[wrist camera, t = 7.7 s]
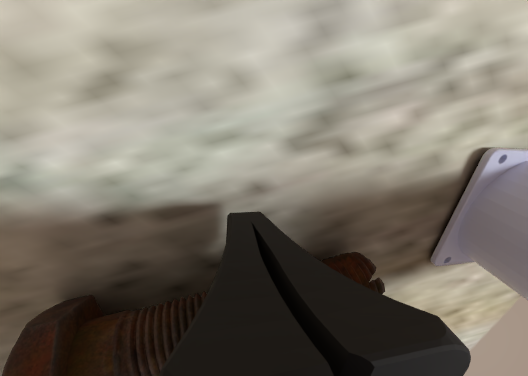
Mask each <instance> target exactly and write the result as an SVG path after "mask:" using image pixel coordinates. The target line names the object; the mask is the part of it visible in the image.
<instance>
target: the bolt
mask: <svg viewBox="0 0 528 376" xmlns="http://www.w3.org/2000/svg"><path fill="white" fill-rule="evenodd" d="M319 261H320V260H319ZM321 262H322V263H324V264H326V265H327V266H329V267H330V268H332V269H333V270H335V271H337V272H339V273H340V274H342V275H344V276H346V277H348V278H349V279H351V280H353V281H355V282H357V283H359V284H361V285H363V286H365V287H367V288H369V289H371V290H373V291H375V292H378V293H380V294H383V293H384V292H385V288H384V283H383V282H382V281H381V279H380V278H377V279H376V280H372V281H371V282H369V281H370V279H371V278H372V275H373V274H374V273H375V271H376V267H375V265H374V264H373V263H372V262H371V261H370V260H369V259H367V258H365V257H364V256H363V255H362V254H360V253H357V252H352V253H345V254H340V255H339V256H335V257H331V258H328V259H323V260H322V261H321ZM206 295H207V293H206V292H205V291H204V292H203V293H202V296H199V295H198V294H197V293H196V294H195V297H194V298H193V297H192V296H191V295H189V296H188V298H187V301H186V300H185V299H184V298H183V297H181V299H180V302H178V300H176V299H174V300H173V302H172V304H171V303H170V302H169V301H167V302H166V303H165V304H164V305H163V304H161V303H159V304H158V305H157V307H156V306H154V305H153V306H150V307H149V308H147V307H145V308H143V309H142V310H139V309H138V310H134V311H130V310H126V311H122V312H118V313H114V314H111V315H107V316H104V314H103V312H102V311H101V309H100V307H99V305H98V304H97V302H96V300H95V298H94V297H93V295H88V296H84V297H80V298H76V299H72V300H68V301H64V302H62V303H60V304H58V305H55V306H53V307H51V308H50V309H48V310H46V311H44V312H42V313H41V314H39V315H38V316H36V317H35V318H34V319H32V320H31V321H30V322H29V323H27V325H26V326H25V328H24V329H23V331H22V333H21V335H20V336H19V338H18V340H17V342H16V344H15V345H14V347H13V349H12V351H11V353H10V355H9V358H8V360H7V362H6V364H5V367H4V370H3V374H2V376H159V374H160V372H161V369H162V367H163V365H164V363H165V362H166V361H167V359H168V358H169V356H170V355H171V353H172V352H173V350H174V349H175V347H176V346H177V344H178V343H179V341H180V340H181V339H182V337H183V336H184V334H185V332H186V331H187V329H188V328H189V326H190V324H191V322H192V321H193V319H194V317H195V316H196V314H197V312H198V310H199V309H200V307H201V305H202V303H203V301H204V299H205V297H206Z"/></svg>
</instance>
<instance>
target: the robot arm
mask: <svg viewBox="0 0 528 376" xmlns="http://www.w3.org/2000/svg"><path fill="white" fill-rule="evenodd" d="M431 262H432V263H433V264H434V265H435V266H443V265H452V264H461V263H470V262H476V263H477V264H479V265H480V266H482V267H483V268H484V269H486V270H487V271H488V272H490V273H491V274H492V275H494V276H495V277H497V278H498V279H499V280H501V281H502V282H503V283H505V284H506V285H508V286H509V287H510V288H512V289H513V290H514V291H516V292H517V293H518V294H520V295H521V296H523V297H524V298H526V299H527V300H528V149H511V148H491V149H489V150H487V151H486V152H485V153H484V155H483V156H482V158H481V160H480V162H479V164H478V166H477V168H476V170H475V172H474V174H473V176H472V178H471V180H470V182H469V184H468V186H467V188H466V190H465V192H464V193H463V195H462V197H461V199H460V201H459V203H458V205H457V207H456V209H455V211H454V213H453V215H452V217H451V219H450V221H449V223H448V225H447V227H446V229H445V231H444V233H443V235H442V237H441V239H440V241H439V243H438V245H437V247H436V249H435V251H434V253H433V255H432V257H431ZM470 360H471V356H470V352H469V349H468V348H467V347H466V346H465V345H464V344H463V343H462V342H461V340H460V339H459V338H458V337H457V336H456V335H455V334H454V333H453V332H452V331H451V330H450V329H449V328H448V327H447V325H446V324H445V323H444V322H443V321H442V320H441V319H440V318H439V317H438V316H436V315H433V314H430V313H428V312H425V311H422V310H420V309H417V308H414V307H412V306H409V305H406V304H403V303H401V302H398V301H396V300H393V299H391V298H389V297H387V296H384V295H382V294H380V293H378V292H375V291H373V290H371V289H369V288H367V287H365V286H363V285H361V284H359V283H357V282H355V281H353V280H351V279H349V278H348V277H346V276H344V275H342V274H340V273H339V272H337V271H335V270H333V269H332V268H330V267H329V266H327V265H326V264H324V263H322V262H321V261H319V260H318V259H316V258H315V257H313V256H312V255H310V254H309V253H308V252H306V251H305V250H304V249H302V248H301V247H300V246H299V245H297V244H296V243H295V242H294V241H292V240H291V239H290V238H289V237H288V236H286V235H285V234H284V233H283V232H282V231H281V230H280V229H278V228H277V227H276V226H275V225H274V224H273V223H272V222H271V221H270V220H269V219H268V218H266V217H265V216H264V215H263V214H262V213H261V212H244V213H230V214H229V215H228V216H227V237H226V246H225V250H224V253H223V257H222V260H221V263H220V266H219V268H218V271H217V273H216V276H215V278H214V281H213V283H212V285H211V287H210V289H209V291H208V293H207V295H206V297H205V299H204V301H203V303H202V305H201V307H200V309H199V310H198V312H197V314H196V316H195V317H194V319H193V321H192V322H191V324H190V326H189V328H188V329H187V331H186V332H185V334H184V336H183V337H182V339H181V340H180V341H179V343H178V344H177V346H176V347H175V349H174V350H173V352H172V353H171V355H170V356H169V358H168V359H167V361H166V362H165V363H164V365H163V367H162V369H161V372H160V374H159V376H463V375H464V374H465V372H466V370H467V369H468V367H469V364H470Z"/></svg>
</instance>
